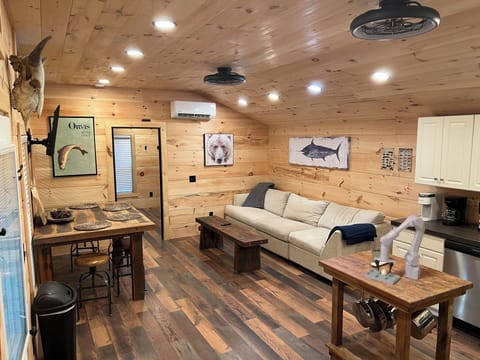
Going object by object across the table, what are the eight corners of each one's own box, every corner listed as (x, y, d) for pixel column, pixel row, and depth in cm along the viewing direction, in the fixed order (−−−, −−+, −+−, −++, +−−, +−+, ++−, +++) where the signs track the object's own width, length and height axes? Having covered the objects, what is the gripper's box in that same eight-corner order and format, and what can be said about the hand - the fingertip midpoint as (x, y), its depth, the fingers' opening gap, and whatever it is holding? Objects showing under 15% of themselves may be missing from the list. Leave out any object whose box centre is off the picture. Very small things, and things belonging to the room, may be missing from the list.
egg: (387, 275, 254) (387, 268, 253) (386, 277, 250) (386, 270, 250) (381, 274, 256) (381, 267, 255) (380, 276, 252) (380, 269, 252)
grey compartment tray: (400, 278, 249) (400, 276, 249) (392, 284, 239) (392, 282, 239) (372, 271, 263) (372, 268, 262) (364, 276, 253) (364, 274, 252)
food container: (384, 259, 287) (385, 247, 286) (387, 261, 281) (387, 249, 280) (369, 258, 288) (369, 247, 287) (371, 261, 282) (371, 249, 281)
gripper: (396, 253, 251) (395, 271, 252) (375, 250, 258) (374, 267, 260) (395, 256, 245) (394, 275, 246) (373, 252, 252) (372, 271, 254)
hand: (384, 271), depth 253 cm, fingers open, 7 cm apart
